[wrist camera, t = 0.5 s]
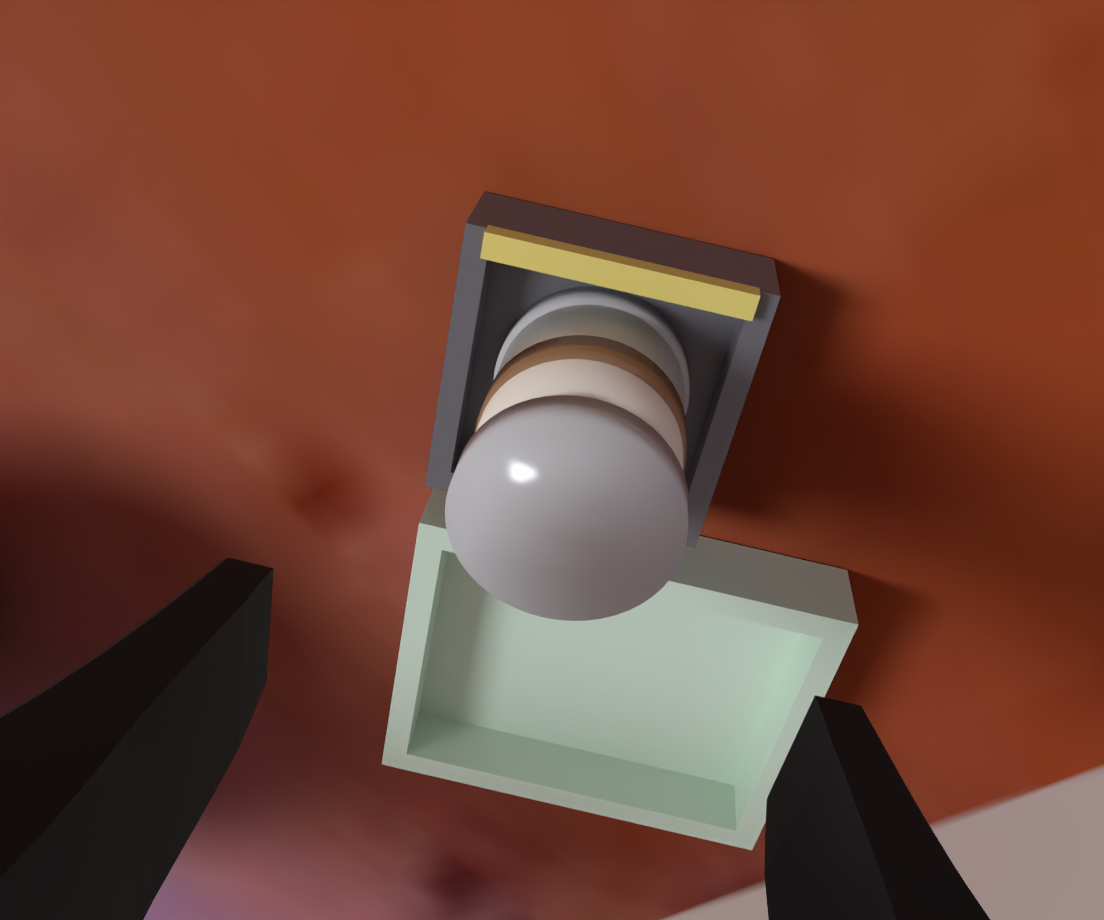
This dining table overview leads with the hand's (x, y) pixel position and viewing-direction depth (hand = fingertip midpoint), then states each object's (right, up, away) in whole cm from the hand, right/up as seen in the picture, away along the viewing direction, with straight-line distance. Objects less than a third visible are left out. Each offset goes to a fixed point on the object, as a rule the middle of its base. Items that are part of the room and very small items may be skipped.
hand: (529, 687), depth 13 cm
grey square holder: (+1, +5, +9) cm, 10 cm away
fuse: (+1, +5, +8) cm, 9 cm away
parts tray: (+2, -2, +13) cm, 13 cm away
